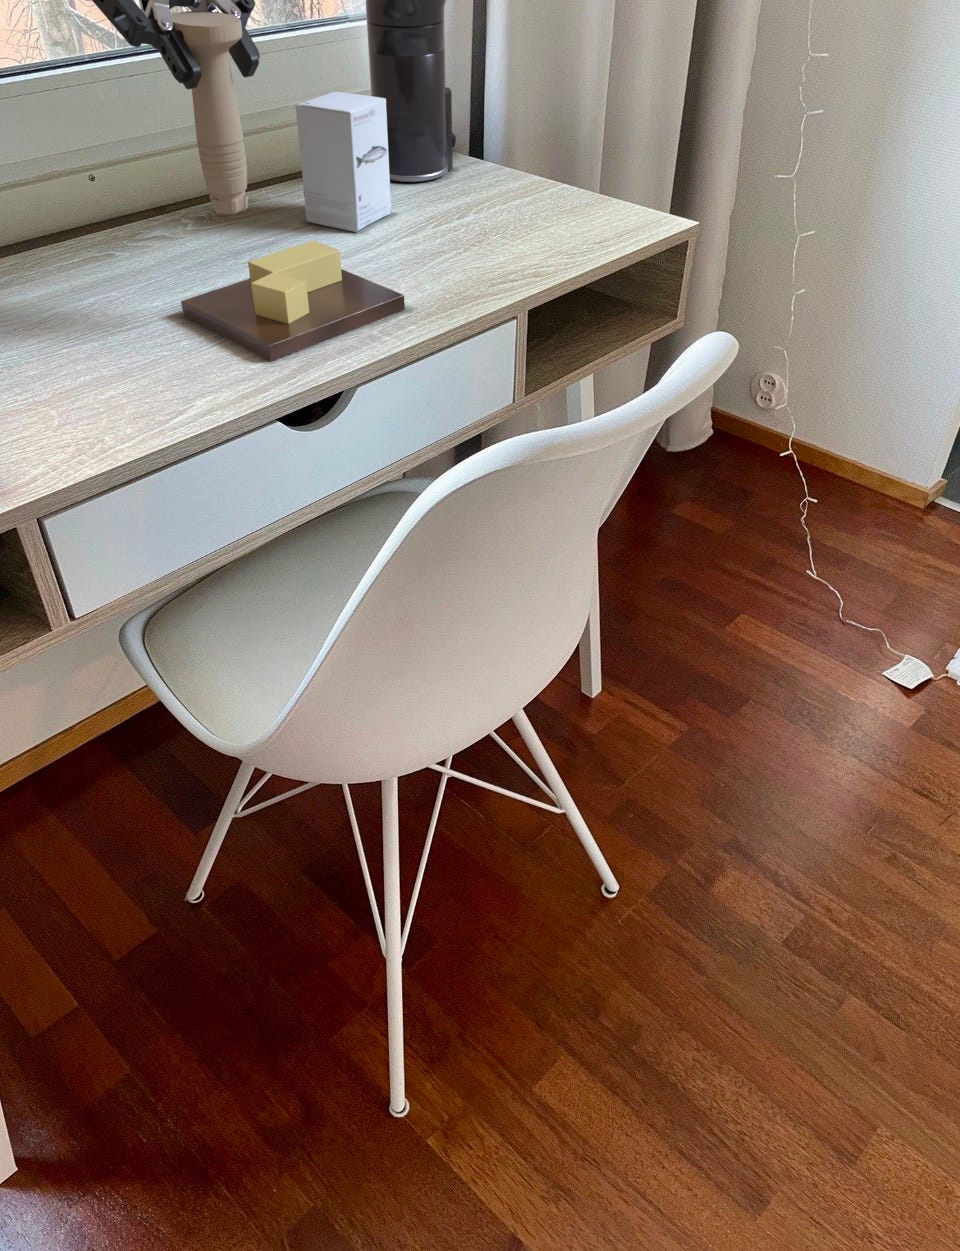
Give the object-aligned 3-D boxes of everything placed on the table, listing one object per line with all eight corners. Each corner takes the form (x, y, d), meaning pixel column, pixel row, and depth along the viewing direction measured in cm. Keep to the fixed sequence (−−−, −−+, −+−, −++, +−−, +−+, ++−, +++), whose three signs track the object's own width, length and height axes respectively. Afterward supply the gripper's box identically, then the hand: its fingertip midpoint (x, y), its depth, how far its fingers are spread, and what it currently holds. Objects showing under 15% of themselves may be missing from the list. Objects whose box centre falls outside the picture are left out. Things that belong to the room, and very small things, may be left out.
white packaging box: (358, 233, 117) (349, 112, 109) (304, 222, 120) (292, 103, 112) (393, 214, 122) (388, 96, 114) (341, 204, 125) (332, 88, 117)
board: (315, 271, 109) (313, 257, 108) (405, 309, 101) (404, 294, 100) (183, 316, 100) (180, 300, 99) (271, 361, 92) (268, 345, 91)
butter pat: (276, 303, 98) (272, 272, 96) (309, 312, 97) (306, 281, 95) (255, 314, 96) (250, 282, 95) (288, 324, 95) (284, 292, 93)
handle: (233, 225, 90) (205, 29, 80) (185, 208, 93) (152, 17, 83) (275, 210, 93) (252, 19, 83) (227, 194, 96) (200, 8, 86)
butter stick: (316, 269, 105) (313, 240, 103) (342, 280, 103) (339, 250, 101) (251, 292, 100) (247, 261, 99) (277, 303, 98) (273, 272, 96)
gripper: (37, -149, 76) (159, 60, 78) (202, -159, 84) (311, 31, 86) (23, -70, 83) (136, 122, 84) (178, -86, 90) (279, 90, 92)
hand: (224, 75), depth 85 cm, fingers closed on handle, 5 cm apart
